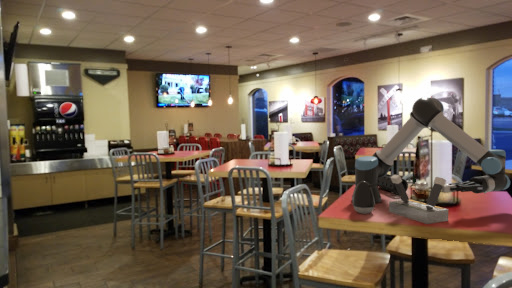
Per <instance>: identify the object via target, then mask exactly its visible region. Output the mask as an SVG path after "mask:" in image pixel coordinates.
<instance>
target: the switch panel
mask: <svg viewBox="0 0 512 288" xmlns="http://www.w3.org/2000/svg"><path fill="white" fill-rule="evenodd" d="M408 201H409V203H407V202H403V201H402V200H401V199H399V200H392V201H388V212H389V213H391V214H394V215H398V216H400V217H403V218H406V219H409V220H412V221H416V222H418V223H422V224H425V225H430V224H435V223H437V224H438V223H441V222H448V221H449V208H445V207H440V206H439V205H438V206H436V205H435V207H433V209H429V208H426V206H428V205H426V203H427V202H426V203H425V202H422V201H418V200H414V199H410V198H409V200H408ZM430 207H431V206H430Z"/></svg>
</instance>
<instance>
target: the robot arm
mask: <svg viewBox="0 0 512 288" xmlns="http://www.w3.org/2000/svg"><path fill="white" fill-rule="evenodd" d="M409 116H410V117H409V118H408V120H407V121H406V122H405V123H404V124H403V125H402V126H401V128H400V129H399V130H398V131H397V132H396V133H395V134H394V135H393V136H392V138H390V140H389V141H388V142H387V143H386V144H385V145H384V146H383V147H382V148H381V150H376V151H375V152H374V153H373V154H372V155H371V156H369V155H367V156H365V155H363V156H360V157H357V158H356V159H355V162H354V173H355V174H354V177H355V178H354V180H355V182H354V183H355V185H354V189H353V192H352V196H351V201H352V202H353V196H354V192H355V189H356V187H357V185H358V183H359V182H361V181H366V182H368V183H369V184H373V183H375V186H372V187H371V189H372V191H373V195H374V200H375V204H378V203H382V195H381V192H380V190H379V187H378V178H379V177H383V176H385V175H386V174H388V173H389V172H390V169H391V168H392V167H393V166H394V161H395V159H396V158H397V157H398V156H399V155H400V154H401V153H402V152H403V151H404V150H405V149H406V147H408V146H409V144H410V143H411V142H413V140H415V138H416V137H417V136H418V135H419V134H420V133H421V132H422V131H423V130H424V129H428V128H432V129H433V130H434V131H436V132H437V133H438V134H440V136H442V137H443V138H444V139H446V140H447V141H448V142H450V144H452V145H453V146H454V147H455V148H457V149H458V151H459V150H460V152H462V153H463V154H464V155H465V156H467V157H468V158H469V159H471V160H472V161H473V162H474V163H475V164H477V165H478V166H479V167H480V168H481V170H482V172H484V173H485V174H486V175H483V176H481V175H480V176H473V177H471V178H470V179H469V180H466V181H462V182H461V181H460V180H457V181H456V182H451V183H449V184H448V185H446V184H445V185H444V187H442V190H441V193H444V194H445V193H454V192H460V193H464V192H465V193H467V192H468V193H469V192H471V193H473V194H483V193H484V194H487V193H490V192H500V191H505V190H507V189H508V188H509V187H510V185H511V180H510V177H509V176H508V175H506V163H507V162H506V159H507V156H506V155H507V154H506V151H505V150H504V149H487V148H486V147H484V146H483V145H482V144H481V143H480V142H478V141H477V140H476V139H474V138H473V137H472V136H471V135H469V134H468V133H467V132H466V131H464V130H463V129H462V128H460V126H458V125H457V124H455V123H454V122H453V121H452V120H450V119H449V118H448V117H446V116H445V115H444V105H443V103H442V101H440V100H439V99H437V98H435V97H425V96H424V97H421V98H419V99H417V100H416V101H414V103H413V106H412V111H411V112H410V113H409Z"/></svg>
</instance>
